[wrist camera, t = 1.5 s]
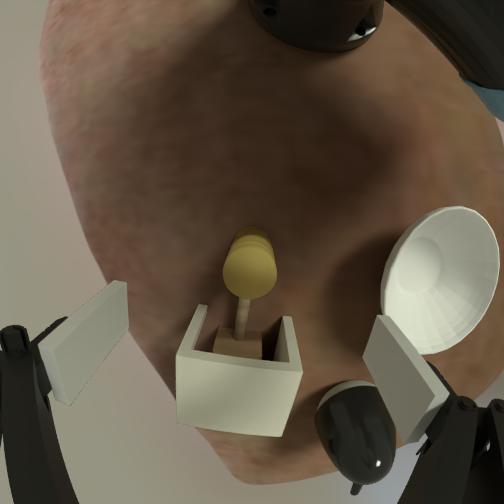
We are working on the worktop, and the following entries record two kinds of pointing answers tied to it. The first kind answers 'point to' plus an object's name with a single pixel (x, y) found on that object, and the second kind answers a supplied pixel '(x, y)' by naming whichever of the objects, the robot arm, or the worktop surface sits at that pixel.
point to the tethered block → (246, 290)
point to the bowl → (441, 277)
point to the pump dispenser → (357, 432)
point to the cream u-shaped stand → (237, 385)
